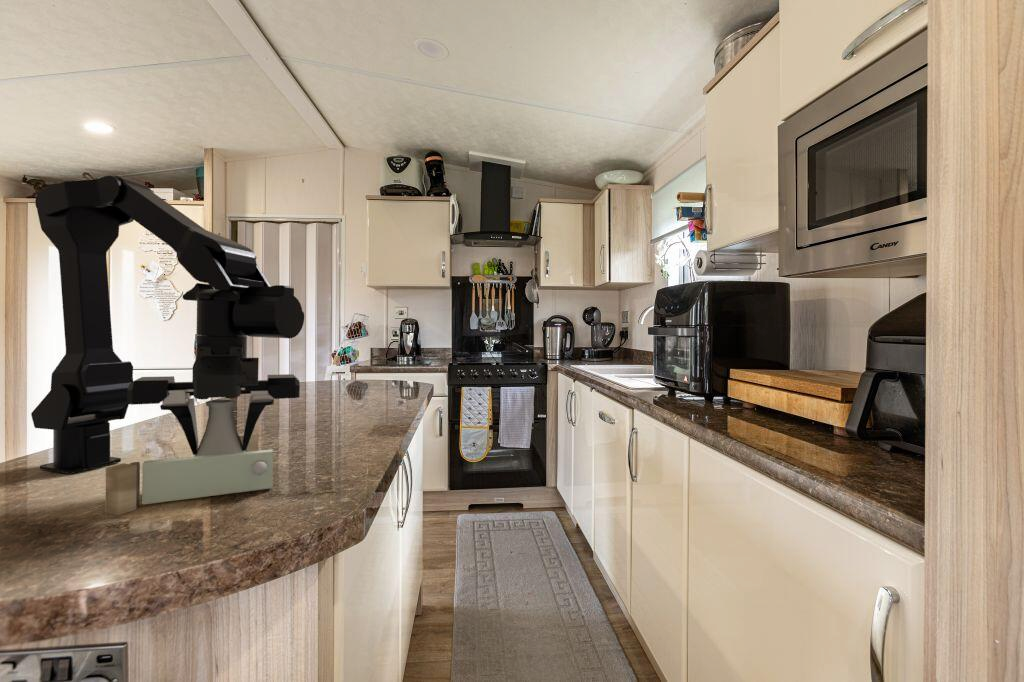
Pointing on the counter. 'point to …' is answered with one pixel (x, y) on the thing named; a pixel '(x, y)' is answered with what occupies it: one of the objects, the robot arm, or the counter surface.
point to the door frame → (136, 483)
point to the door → (206, 475)
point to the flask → (220, 430)
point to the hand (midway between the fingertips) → (220, 452)
